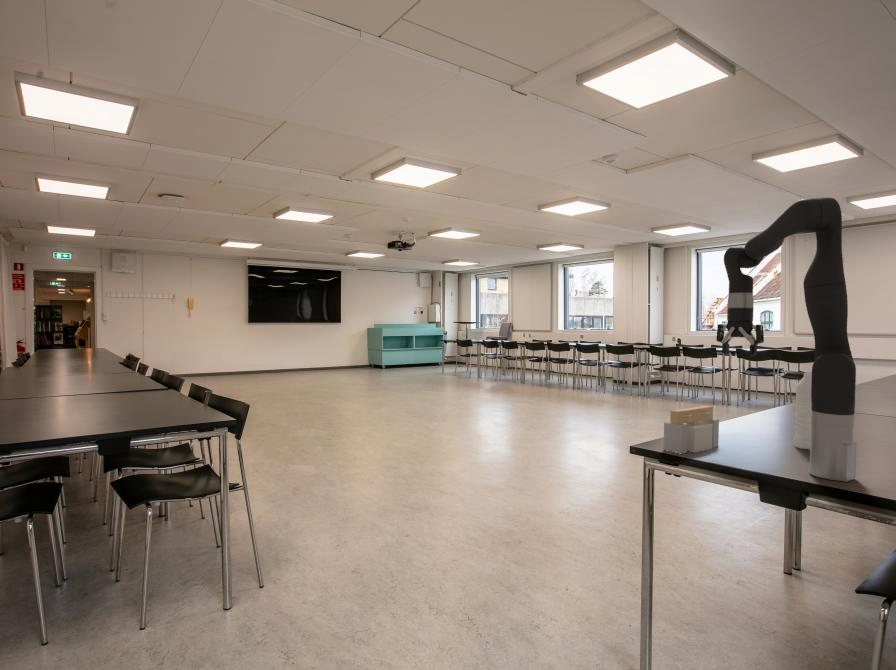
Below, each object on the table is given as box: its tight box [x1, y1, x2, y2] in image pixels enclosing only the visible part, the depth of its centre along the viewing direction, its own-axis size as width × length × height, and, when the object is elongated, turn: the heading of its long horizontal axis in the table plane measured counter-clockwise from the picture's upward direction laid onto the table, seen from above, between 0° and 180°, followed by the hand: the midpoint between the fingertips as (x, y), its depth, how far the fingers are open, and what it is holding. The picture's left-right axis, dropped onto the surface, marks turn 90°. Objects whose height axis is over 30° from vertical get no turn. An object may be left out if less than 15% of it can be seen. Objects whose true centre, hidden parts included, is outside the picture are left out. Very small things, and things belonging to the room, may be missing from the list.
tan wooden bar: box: [669, 405, 714, 425], centre depth 166 cm, size 5×20×4 cm, turn 123°
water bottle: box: [793, 371, 812, 451], centre depth 169 cm, size 9×6×25 cm
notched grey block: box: [663, 417, 720, 455], centre depth 166 cm, size 8×21×9 cm, turn 123°
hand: (738, 355), depth 171 cm, fingers open, 8 cm apart
